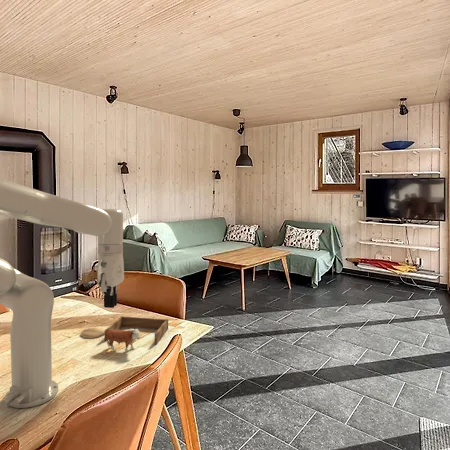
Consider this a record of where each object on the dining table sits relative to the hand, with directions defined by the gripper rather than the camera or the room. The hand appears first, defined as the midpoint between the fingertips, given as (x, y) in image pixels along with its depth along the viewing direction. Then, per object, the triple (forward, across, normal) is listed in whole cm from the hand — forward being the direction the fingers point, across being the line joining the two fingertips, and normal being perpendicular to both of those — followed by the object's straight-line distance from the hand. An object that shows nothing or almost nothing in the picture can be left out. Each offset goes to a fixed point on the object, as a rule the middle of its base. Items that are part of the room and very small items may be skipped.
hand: (110, 306), depth 114 cm
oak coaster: (+19, +23, +17) cm, 34 cm away
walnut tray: (+19, +25, 0) cm, 31 cm away
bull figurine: (+19, +11, 0) cm, 22 cm away
